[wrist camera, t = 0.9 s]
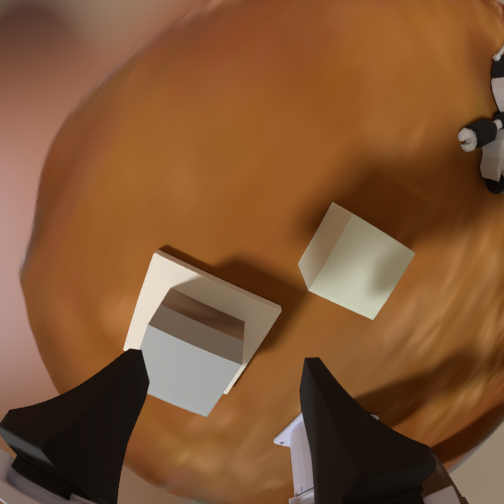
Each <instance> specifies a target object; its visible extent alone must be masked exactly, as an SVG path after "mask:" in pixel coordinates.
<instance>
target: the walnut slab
mask: <svg viewBox="0 0 504 504" xmlns="http://www.w3.org/2000/svg"><path fill="white" fill-rule="evenodd" d="M160 304H161V305H163V306H165V307H167V308H169V309H171V310H173V311H175V312H178V313H180V314H182V315H184V316H186V317H188V318H191V319H193V320H195V321H197V322H200V323H202V324H204V325H206V326H209V327H211V328H213V329H216V330H218V331H220V332H223V333H225V334H227V335H230V336H232V337H235V338H237V339H240V340H242V341H244V327H245V321H242V320H240V319H238V318H235V317H233V316H231V315H228V314H226V313H224V312H221V311H219V310H217V309H215V308H212V307H210V306H208V305H206V304H204V303H201V302H199V301H197V300H195V299H193V298H191V297H188V296H186V295H184V294H182V293H180V292H178V291H176V290H174V289H171V288H170V289H169V291H168V292H167V294H166V295H165V297H164V299H163V300H162V302H161V303H160Z"/></svg>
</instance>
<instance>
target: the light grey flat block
mask: <svg viewBox="0 0 504 504" xmlns="http://www.w3.org/2000/svg"><path fill="white" fill-rule="evenodd" d="M243 342H244V341H242V340H240V339H237V338H235V337H232V336H230V335H227V334H225V333H223V332H220V331H218V330H216V329H213V328H211V327H209V326H206V325H204V324H202V323H200V322H197V321H195V320H193V319H191V318H188V317H186V316H184V315H182V314H180V313H178V312H175V311H173V310H171V309H169V308H167V307H165V306H163V305H161V304H160V305H159V307H158V308H157V310H156V312H155V313H154V315H153V317H152V318H151V320H150V322H149V323H148V325H147V328H146V331H145V334H144V337H143V340H142V343H141V346H140V349H139V350H142V353H143V357H144V361H145V365H146V369H147V373H148V377H149V380H150V384H149V388H148V392H147V393H148V394H150V395H152V396H154V397H157V398H159V399H161V400H164V401H166V402H169V403H171V404H173V405H176V406H178V407H181V408H184V409H186V410H189V411H191V412H194V413H197V414H200V415H203V416H205V417H207V416H208V414H209V413H210V411H211V410H212V409H213V407H214V406H215V404H216V403H217V401H218V400H219V398H220V397H221V396H222V394H223V393H224V391H225V390H226V388H227V387H228V385H229V384H230V382H231V381H232V379H233V378H234V376H235V375H236V373H237V372H238V370H239V369H240V367H241V366H242V357H243Z"/></svg>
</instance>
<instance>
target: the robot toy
mask: <svg viewBox="0 0 504 504" xmlns="http://www.w3.org/2000/svg"><path fill="white" fill-rule="evenodd" d="M503 51H504V45H503V47H502V48H501V50H500V51H499V52H498V54H495V55H494V57H493V59H494V60H495V61H494V63H493V68H492V72H491V73H492V76H493V78H492V80H491V85H492V90H493V94H494V98H495V101H496V103H497V106H498V108H499V110H500V113H499V114H497V115H495V116H494V121H493V122H492V121H489V120H485V119H481V120H479V121H477V122H475V123H472V124H470V125H468V126H466V128H464V129H463V130H462V131H461V132H460V133H459V134H458V139H459V141H464V140H465V141H466V143H464V144H462V145H461V147H462V149H463V150H465V151H466V152H469V151H473V150H474V149H475V147H478V148H479V147H481V148H482V150H483V157H482V161H481V165H480V170H481V174H482V177H485V178H486V179H485V184H486V186H487V189H488V190H489V191H490V192H491V193H493V194H499V193H503V194H504V54H502V53H503Z"/></svg>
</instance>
